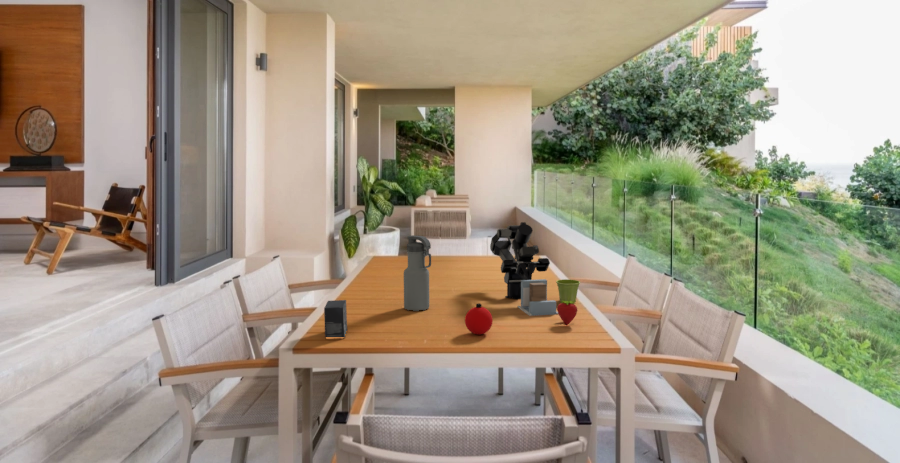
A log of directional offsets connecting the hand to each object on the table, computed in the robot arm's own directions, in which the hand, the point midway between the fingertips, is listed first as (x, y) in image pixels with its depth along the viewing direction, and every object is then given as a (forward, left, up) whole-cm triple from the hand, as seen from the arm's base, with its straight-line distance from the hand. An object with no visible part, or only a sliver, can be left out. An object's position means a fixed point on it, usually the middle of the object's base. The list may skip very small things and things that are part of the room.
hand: (529, 283), depth 237 cm
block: (+7, -6, -9) cm, 13 cm away
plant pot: (+8, +16, -10) cm, 20 cm away
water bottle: (-33, -28, -10) cm, 44 cm away
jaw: (+4, -3, -8) cm, 9 cm away
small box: (-29, -72, -10) cm, 79 cm away
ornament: (+7, -43, -10) cm, 45 cm away
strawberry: (+24, -15, -10) cm, 30 cm away
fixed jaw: (+11, -9, -9) cm, 17 cm away
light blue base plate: (+7, -6, -9) cm, 13 cm away
